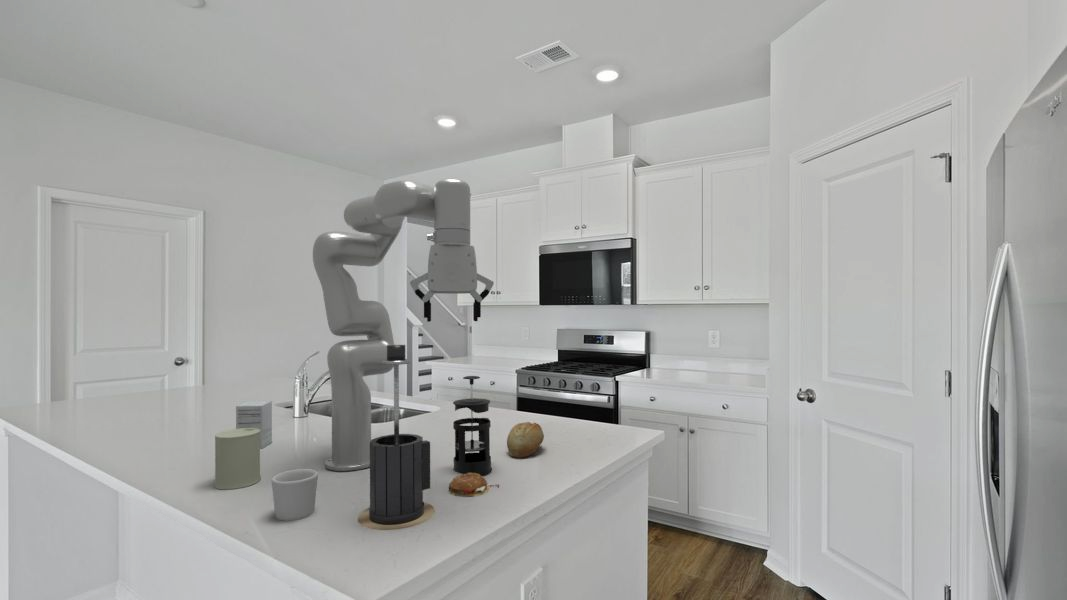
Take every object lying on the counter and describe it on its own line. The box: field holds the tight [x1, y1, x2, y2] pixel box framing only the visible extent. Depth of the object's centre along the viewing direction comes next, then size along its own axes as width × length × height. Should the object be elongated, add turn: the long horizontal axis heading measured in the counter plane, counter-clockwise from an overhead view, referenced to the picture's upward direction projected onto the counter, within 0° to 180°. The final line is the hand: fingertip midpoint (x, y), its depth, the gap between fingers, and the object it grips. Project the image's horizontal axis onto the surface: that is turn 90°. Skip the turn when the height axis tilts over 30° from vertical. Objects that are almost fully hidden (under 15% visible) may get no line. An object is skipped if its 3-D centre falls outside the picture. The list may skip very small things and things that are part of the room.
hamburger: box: [447, 472, 500, 497], centre depth 109 cm, size 14×14×6 cm
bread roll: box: [506, 421, 545, 459], centre depth 139 cm, size 10×15×8 cm, turn 168°
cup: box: [271, 468, 319, 521], centre depth 97 cm, size 11×8×8 cm
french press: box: [452, 375, 493, 477], centre depth 123 cm, size 12×9×23 cm
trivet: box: [357, 501, 436, 531], centre depth 95 cm, size 14×14×1 cm
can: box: [213, 428, 262, 491], centre depth 116 cm, size 9×9×12 cm
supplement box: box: [235, 400, 273, 449], centre depth 148 cm, size 7×7×13 cm
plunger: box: [382, 344, 411, 445], centre depth 95 cm, size 6×6×21 cm
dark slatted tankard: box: [368, 433, 431, 525], centre depth 95 cm, size 10×12×14 cm
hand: (452, 321), depth 106 cm, fingers open, 9 cm apart
